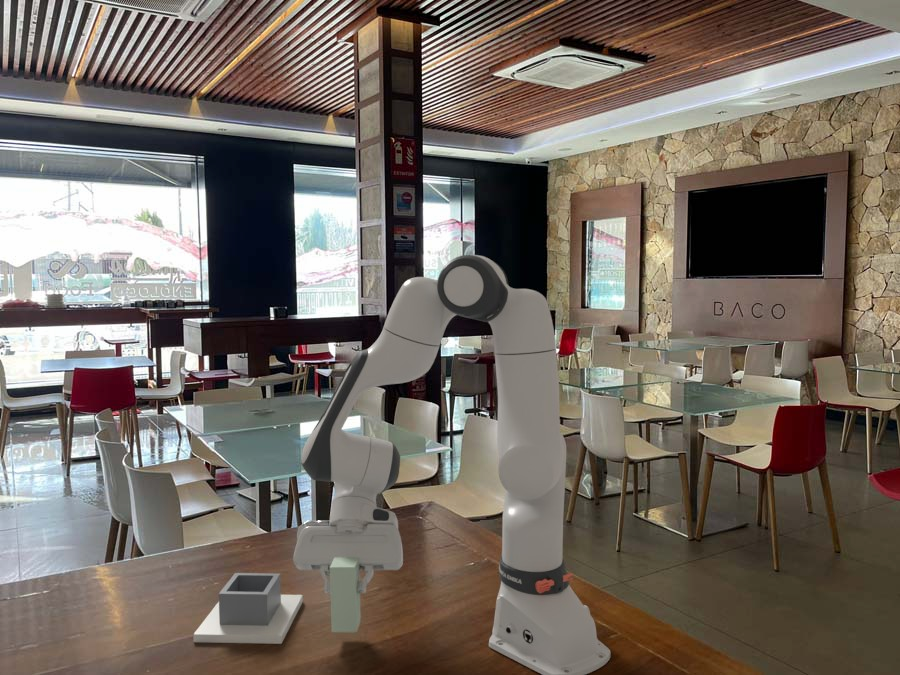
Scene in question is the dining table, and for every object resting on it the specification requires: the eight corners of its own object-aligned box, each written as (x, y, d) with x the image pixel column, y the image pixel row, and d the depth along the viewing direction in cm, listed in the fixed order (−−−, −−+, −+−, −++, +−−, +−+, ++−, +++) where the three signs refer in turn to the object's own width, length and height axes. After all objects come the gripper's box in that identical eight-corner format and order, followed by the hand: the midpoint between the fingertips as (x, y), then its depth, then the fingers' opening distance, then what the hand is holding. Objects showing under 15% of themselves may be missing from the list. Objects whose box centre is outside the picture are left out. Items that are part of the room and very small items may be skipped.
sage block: (336, 619, 128) (334, 557, 127) (360, 619, 127) (358, 557, 126) (331, 632, 123) (329, 567, 122) (356, 632, 123) (354, 567, 122)
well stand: (224, 600, 140) (223, 565, 140) (302, 602, 140) (302, 566, 139) (193, 642, 125) (192, 602, 124) (281, 643, 124) (280, 603, 123)
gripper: (295, 513, 131) (283, 586, 122) (403, 513, 130) (398, 585, 121) (302, 527, 136) (291, 598, 127) (405, 527, 135) (401, 598, 126)
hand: (344, 592), depth 124 cm, fingers closed on sage block, 4 cm apart
